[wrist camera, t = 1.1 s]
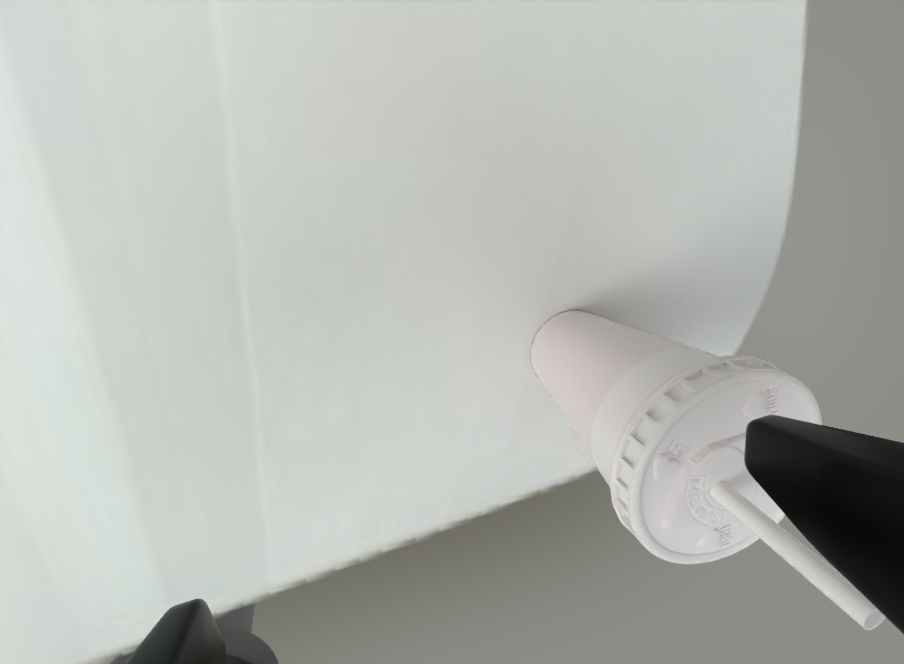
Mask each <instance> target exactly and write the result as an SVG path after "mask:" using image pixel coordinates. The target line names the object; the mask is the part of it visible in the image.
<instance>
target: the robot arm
mask: <svg viewBox="0 0 904 664" xmlns="http://www.w3.org/2000/svg"><path fill="white" fill-rule="evenodd" d="M744 462H745V466H746V468H747V470H748V472H749V474H750V475H751V476H752V477H753V478H754V480H755V481H756V482H757V483H758V484H759V485H760V486H761V488H762V489H763V490H764V491H765V492H766V493H767V494H768V496H769V497H770V498H771V499H772V500H773V501H774V502H775V503H776V505H777V506H778V507H779V508H780V509H781V510H782V511H783V513H784V514H785V515H786V516H787V517H788V518H789V519H790V521H791V522H792V523H793V524H794V525H795V526H796V527H797V529H798V530H799V531H800V532H801V533H802V534H803V535H804V537H805V538H806V539H807V540H808V541H809V542H810V543H811V544H812V545H813V546H814V547H815V549H817V550H818V552H820V554H821V555H822V556H824V558H825V559H826V560H828V562H829V563H831V564H832V565H833V566H834V567H835V568H836V569H837V570H838V571H839V572H840V573H841V574H842V575H843V576H844V577H845V578H846V579H847V580H848V581H849V582H850V583H851V584H852V585H853V586H854V587H855V588H856V589H857V590H858V591H859V592H861V593H862V594H863V595H864V596H865V597H866V598H867V599H868V600H869V601H870V602H871V603H872V604H873V605H874V606H875V607H876V608H877V609H878V610H879V611H880V612H881V613H882V614H883V615H884V616H885V617H887V619H889V620H890V621H891V622H892V623H893V624H894V625H895V626H896V627H897V628H898V629H899V630H900V631H901V632H902V633H903V634H904V443H901V442H897V441H892V440H888V439H883V438H879V437H874V436H869V435H865V434H860V433H855V432H851V431H846V430H842V429H837V428H833V427H828V426H823V425H819V424H814V423H810V422H805V421H800V420H796V419H791V418H787V417H782V416H777V415H767V416H764V417H761V418H758V419H754V420H752V421H750V422H749V423H748V425H747V428H746V439H745V453H744ZM125 664H225V645H224V640H223V637H222V635H221V633H220V631H219V628H218V626H217V624H216V622H215V620H214V618H213V616H212V614H211V612H210V610H209V608H208V605H207V604H206V602H205V601H204V600H202V599H194V600H191V601H188V602H185V603H182V604H179V605H176V606H174V607H172V608H170V609H169V610H168V611H167V612H166V613H165V614H164V615H163V617H162V618H161V619H160V620H159V622H158V623H157V624H156V625H155V627H154V628H153V629H152V630H151V632H150V633H149V634H148V635H147V637H146V638H145V639H144V640H143V642H142V643H141V644H140V645H139V647H138V648H137V649H136V650H135V652H134V653H133V654H132V655H131V657H130V658H129V659H128V660H127V662H126V663H125Z"/></svg>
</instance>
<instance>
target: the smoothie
mask: <svg viewBox="0 0 904 664" xmlns="http://www.w3.org/2000/svg"><path fill="white" fill-rule="evenodd" d="M531 363H532V367H533V370H534V372H535V373H536V375H537V376H538V378H539V379H540V381H541V383H542V384H543V386H544V387H545V389H546V390H547V392H548V393H549V395H550V396H551V398H552V399H553V401H554V402H555V404H556V405H557V407H558V408H559V410H560V412H561V413H562V415H563V416H564V418H565V419H566V421H567V422H568V424H569V425H570V427H571V428H572V430H573V431H574V433H575V434H576V436H577V437H578V439H579V441H580V442H581V444H582V445H583V447H584V448H585V450H586V451H587V453H588V454H589V456H590V457H591V459H592V460H593V462H594V463H595V465H596V466H597V468H598V470H599V472H600V473H601V475H602V476H603V477H604V479H605V481H606V482H607V483H608V485H609V486H610V488H611V498H612V505H613V507H614V509H615V511H616V513H617V515H618V517H619V519H620V521H621V523H622V524H623V525H624V526H625V527H626V528H627V529H628V530H629V531H630V532H631V533H632V534H633V535H634V536H636V538H637V539H638V540H639V541H640V543H641V544H642V545H643V546H644V547H645V548H646V549H647V550H648V551H649V552H651V553H652V554H653V555H655V556H657V557H659V558H661V559H663V560H666V561H669V562H673V563H679V564H699V563H705V562H712V561H715V560H718V559H721V558H724V557H727V556H730V555H732V554H734V553H736V552H738V551H740V550H742V549H744V548H746V547H748V546H749V545H751V544H752V543H754V542H755V541H757V540H758V539H761V540H762V541H764V542H765V543H766V544H767V545H768V546H769V547H770V548H772V549H773V550H774V551H775V552H776V553H777V554H779V555H780V556H781V557H782V558H783V559H784V560H785V561H787V562H788V563H789V564H790V565H791V566H792V567H794V568H795V569H796V570H797V571H798V572H800V573H801V574H802V575H803V576H804V577H805V578H806V579H808V580H809V581H810V582H811V583H812V584H813V585H815V586H816V587H817V588H818V589H819V590H820V591H821V592H823V593H824V594H825V595H826V596H827V597H828V598H830V599H831V600H832V601H833V602H834V603H836V604H837V605H838V606H839V607H840V608H841V609H842V610H844V611H845V612H846V613H847V614H848V615H849V616H850V617H852V618H853V619H854V620H855V621H856V622H858V623H859V624H860V625H861V626H862V627H863V628H864V629H866V630H870V629H873V628H875V627H876V626H878V625H879V624H880V623H881V622H882V621H883V619H884V618H885V616H884V615H883V614H882V613H881V612H880V611H879V610H878V609H877V608H876V607H875V606H874V605H873V604H872V603H871V602H870V601H869V600H868V599H867V598H866V597H865V596H864V595H863V594H862V593H861V592H859V591H858V590H857V589H856V588H855V587H854V586H853V585H852V584H851V583H850V582H849V581H848V580H847V579H846V578H845V577H844V576H843V575H841V574H840V573H839V572H838V571H836V570H835V569H834V568H833V567H831V566H830V565H829V564H827V563H826V562H825V561H824V560H823V559H821V558H820V557H819V556H817V555H816V554H815V553H814V552H813V551H811V550H810V549H809V548H808V547H806V546H805V545H804V544H802V543H801V542H800V541H799V540H797V539H796V538H795V537H794V536H792V535H791V534H790V533H789V532H787V531H786V530H785V529H784V528H782V527H781V526H780V525H779V524H778V523H779V522H780V521H781V520H782V518H783V517H784V516H785V514H784V513H783V511H782V510H781V509H780V508H779V507H778V506H777V505H776V503H775V502H774V501H773V500H772V499H771V498H770V497H769V496H768V494H767V493H766V492H765V491H764V490H763V489H762V488H761V486H760V485H759V484H758V483H757V482H756V481H755V480H754V478H753V477H752V476H751V475H750V474H749V472H748V470H747V468H746V466H745V462H744V453H745V439H746V428H747V425H748V423H749V422H750V421H752V420H754V419H758V418H761V417H764V416H767V415H777V416H782V417H787V418H791V419H796V420H800V421H805V422H810V423H814V424H819V425H822V419H821V414H820V410H819V406H818V404H817V402H816V399H815V397H814V396H813V394H812V392H811V391H810V390H809V389H808V387H807V386H806V385H805V384H804V383H802V382H801V381H800V380H799V379H797V378H795V377H794V376H792V375H790V374H787V373H785V372H783V371H781V370H779V369H778V368H777V367H775V366H774V365H773V364H771V363H770V362H768V361H767V360H763V359H759V358H755V357H751V356H747V355H734V356H717V355H714V354H711V353H708V352H706V351H703V350H699V349H695V348H692V347H689V346H686V345H683V344H680V343H677V342H674V341H671V340H668V339H665V338H662V337H659V336H656V335H653V334H650V333H647V332H644V331H641V330H638V329H635V328H632V327H629V326H626V325H623V324H620V323H617V322H614V321H611V320H608V319H605V318H602V317H599V316H596V315H592V314H589V313H586V312H583V311H566V312H563V313H560V314H558V315H556V316H554V317H552V318H551V319H550V320H548V321H547V322H546V323H545V324H544V325H543V326H542V327H541V328H540V330H539V331H538V333H537V334H536V336H535V338H534V341H533V344H532V348H531Z"/></svg>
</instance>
